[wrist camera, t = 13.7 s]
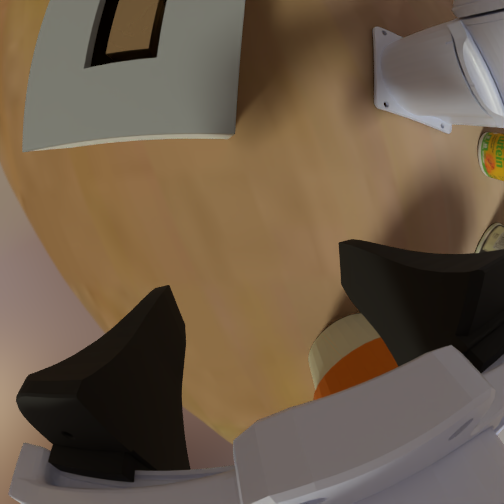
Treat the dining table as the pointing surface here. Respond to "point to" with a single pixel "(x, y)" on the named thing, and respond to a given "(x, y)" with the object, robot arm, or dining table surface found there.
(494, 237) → the coffee can
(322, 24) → the dining table surface
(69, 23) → the box
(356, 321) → the reusable coffee cup
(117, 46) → the tan rectangular block
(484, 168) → the supplement bottle
